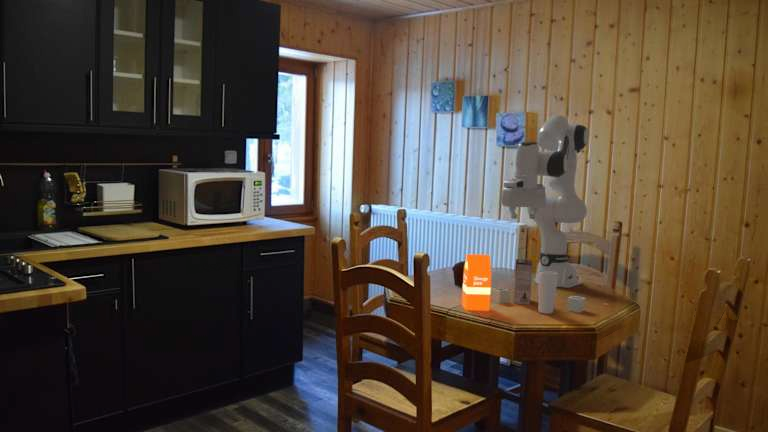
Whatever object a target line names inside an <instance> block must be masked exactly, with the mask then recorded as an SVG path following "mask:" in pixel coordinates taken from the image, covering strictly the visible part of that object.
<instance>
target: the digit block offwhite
mask: <svg viewBox="0 0 768 432" xmlns="http://www.w3.org/2000/svg"><path fill="white" fill-rule="evenodd" d="M566 303H567V305H566V311H568V312H572V311H573V312H572V313H577V312H578V314H580V312H581V313H582V311H583V312H584V310H585V311H586V297H584V296H578V295H577V296H576V295H570V296H568V297H567V302H566Z"/></svg>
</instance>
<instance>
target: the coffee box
mask: <svg viewBox="0 0 768 432" xmlns="http://www.w3.org/2000/svg"><path fill="white" fill-rule="evenodd" d="M532 277H533V260H532V259H523V258H522V259H517V258H516V259H515V267H514V282H513V283H514V286H513V304H518V305H530V304H531V291H532V290H531V289H532Z"/></svg>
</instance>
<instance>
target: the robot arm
mask: <svg viewBox="0 0 768 432" xmlns="http://www.w3.org/2000/svg"><path fill="white" fill-rule="evenodd" d="M589 137H590V136H589V130H588V128H587V126H585V125H581V124H576V125H575V124H569V120H568V119H567V118H566V117H565V116H563V115H561V114H555V115H552V116H550V117H549V118H548V119H547V120H546V121H545V122H543V124H542V125H541V127H540V128H539V131H538V133H537V142H536V141H521V142H519V143H518V145H517V149H516V155H515V163H514V164H515V172H514V177H512V178H511V179H508V180H505V181H504V182H503V187H504V188H503V190H502V195H501V204H502V206H503V207H507V208H509V212H510V214H511V215H510V218H511V219H513V220H514V219H515V220H517V219H518V213H516V211H515V210H516V208H526V211H527V215H528V218H529V219H531V220H533V221H534V223H536V225H537V226H538V229H539V231H540V237H541V238H540V239H541V242H540V243H541V246H540V247H541V248H540V252H539V256H538V257H539V262H538V264H537V268H536V273H535V275H536V276H535V277H534V278H533V280H534V282H535V284H537V285H538V275H539V271H553V272H557V273H558V274H557V287H556V288H565V289H566V288H567V289H569V288H570V289H571V288H573V287H576V286H578V285H582V284H583V281H582V280H579V279H578V271H577V269H576V268H575V267H574V266H573V265H572V264H571V263H570V261H569V260H570V259H572V258H573V254H572V253H567V249H568V236H567V234H565V232H563V231H562V230H560V229H558V227H556V223H563V224H575V223H576V224H577V223H581V222H583V221H584V219H585V218H586V217H587V213H588V212H587V211H588V210H587V209H588V208H587V205H586V203H585V202H584V201H583V200H582V199H580V197H579V196H578V195H577V192H576V190H575V180H576V179H575V178H576V173H577V163H578V156H577V154H579V153H581V151H582V150H583V149H585V148H586V146H587V144H588V141H589V139H590V138H589ZM539 147H541V148H542V149H544V150H546V151H543V150H542V151H540V148H539ZM538 176H543V177H548V186H549V187H550V188H551V190H553V191H555V192H556V193H558V194H559V196H558V197H556V196H555V197H554V196H547V195H546V194H547V193H546V187H545V185H544V184H543V183H538V180H539V177H538Z"/></svg>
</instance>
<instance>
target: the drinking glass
mask: <svg viewBox="0 0 768 432" xmlns="http://www.w3.org/2000/svg"><path fill="white" fill-rule="evenodd" d="M557 274H558V273H557V272H553V271H539V275H538V284H537V294H538V295H537V297H538V300H537V304H538V305H537V306H538V307H537V309H538V310H537V311H538V313H540V314H544V315H549V314H550V315H551V314H553V313H554V306H555V298H556V294H557V293H556V291H557V288H558V287H557Z"/></svg>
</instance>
